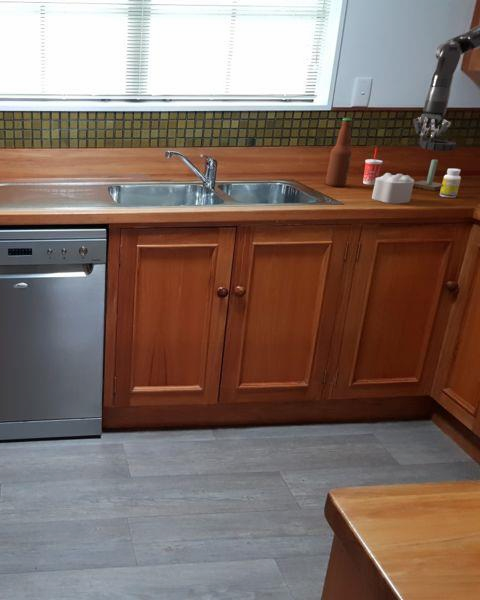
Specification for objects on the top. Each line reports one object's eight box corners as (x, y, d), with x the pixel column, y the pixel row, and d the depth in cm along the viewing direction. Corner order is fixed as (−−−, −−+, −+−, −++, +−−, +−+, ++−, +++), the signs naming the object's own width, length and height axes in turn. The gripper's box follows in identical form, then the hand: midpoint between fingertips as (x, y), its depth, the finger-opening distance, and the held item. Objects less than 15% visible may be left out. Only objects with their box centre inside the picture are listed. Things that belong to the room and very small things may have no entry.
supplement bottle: (440, 193, 225) (447, 167, 221) (457, 196, 221) (464, 169, 218) (437, 196, 221) (444, 169, 217) (454, 198, 218) (461, 171, 214)
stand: (445, 188, 234) (452, 160, 230) (433, 190, 229) (440, 162, 225) (422, 184, 241) (429, 157, 237) (410, 186, 236) (416, 159, 232)
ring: (460, 149, 228) (462, 143, 227) (445, 151, 222) (446, 145, 221) (430, 145, 236) (431, 139, 236) (414, 147, 230) (416, 141, 230)
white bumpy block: (367, 197, 217) (372, 173, 213) (392, 194, 222) (397, 170, 219) (392, 204, 208) (398, 179, 205) (418, 201, 213) (423, 176, 210)
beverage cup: (374, 182, 242) (382, 146, 237) (380, 185, 237) (387, 149, 231) (358, 181, 243) (365, 146, 237) (363, 184, 237) (371, 148, 232)
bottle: (349, 186, 234) (362, 119, 224) (334, 187, 231) (347, 119, 221) (335, 182, 240) (347, 117, 230) (321, 183, 237) (332, 117, 228)
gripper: (461, 100, 223) (449, 148, 229) (423, 97, 233) (413, 143, 240) (451, 101, 219) (439, 150, 225) (413, 98, 229) (403, 145, 236)
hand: (425, 146), depth 233 cm, fingers closed on ring, 2 cm apart
